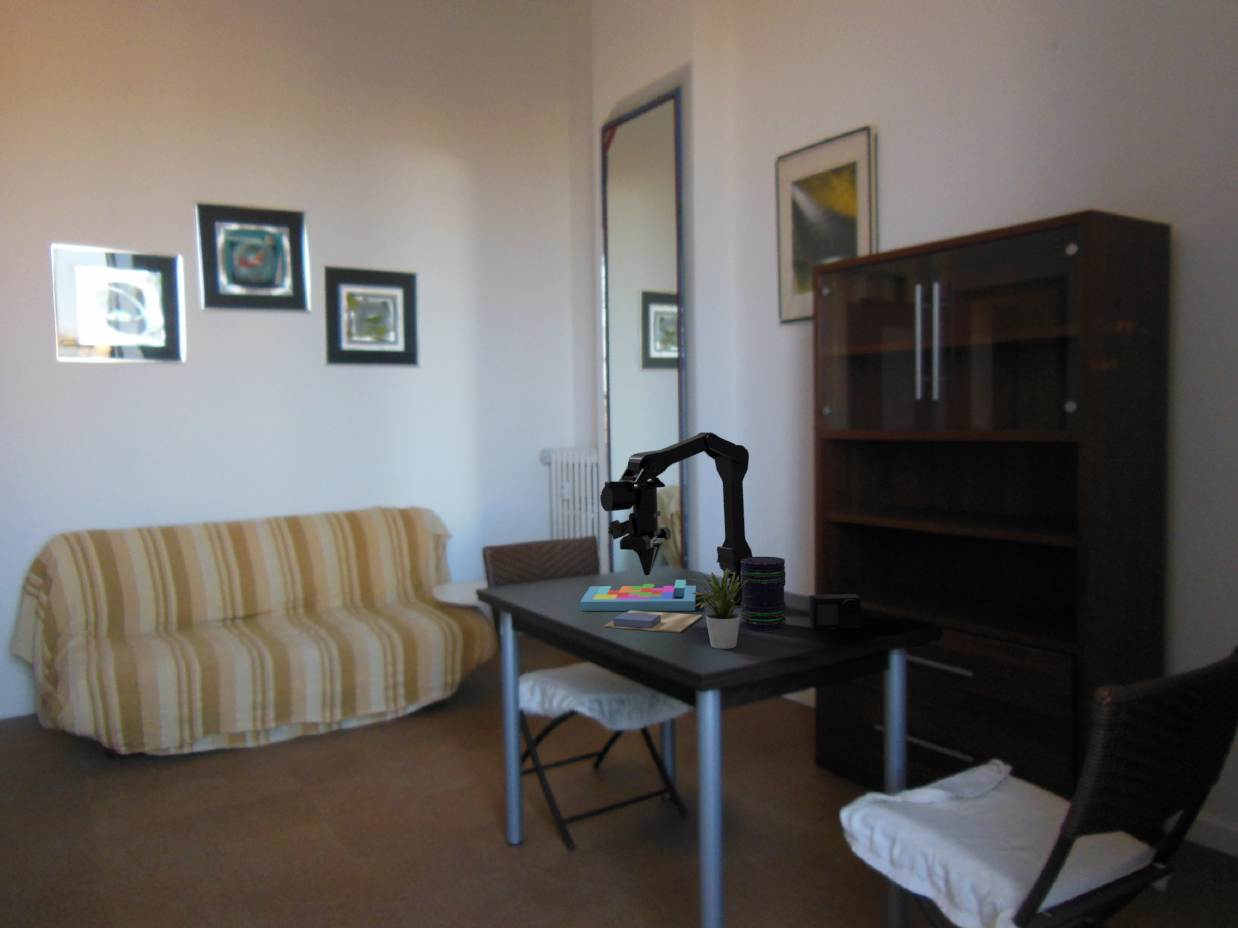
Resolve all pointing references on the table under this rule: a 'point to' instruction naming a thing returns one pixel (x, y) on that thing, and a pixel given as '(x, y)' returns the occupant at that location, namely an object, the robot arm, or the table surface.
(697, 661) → the table surface
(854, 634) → the table surface
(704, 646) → the table surface
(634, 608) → the tetris game
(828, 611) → the digital camera
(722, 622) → the house plant
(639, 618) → the card deck
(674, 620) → the wooden mat
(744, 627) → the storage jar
